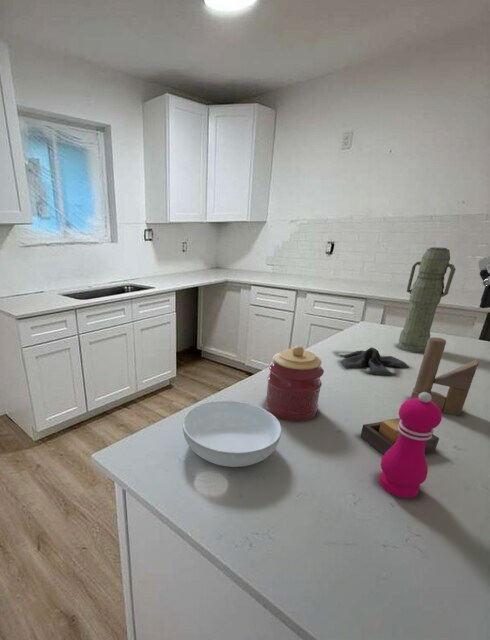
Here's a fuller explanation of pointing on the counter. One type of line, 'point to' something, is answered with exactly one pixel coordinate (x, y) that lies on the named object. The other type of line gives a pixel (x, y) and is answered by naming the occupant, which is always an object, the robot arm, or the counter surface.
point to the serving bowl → (231, 432)
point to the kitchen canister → (294, 384)
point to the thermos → (425, 298)
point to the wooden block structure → (444, 379)
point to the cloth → (372, 362)
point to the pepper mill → (410, 447)
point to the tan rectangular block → (390, 429)
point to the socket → (383, 444)
